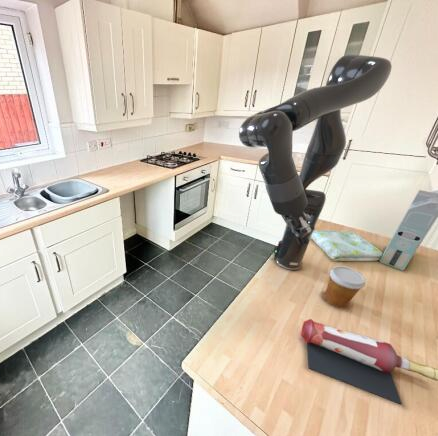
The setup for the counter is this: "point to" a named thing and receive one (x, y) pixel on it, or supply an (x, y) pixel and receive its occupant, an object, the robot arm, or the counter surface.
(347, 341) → the liquor
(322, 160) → the robot arm
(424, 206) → the device
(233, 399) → the counter surface
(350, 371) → the mat
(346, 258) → the towel
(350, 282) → the disposable coffee cup
